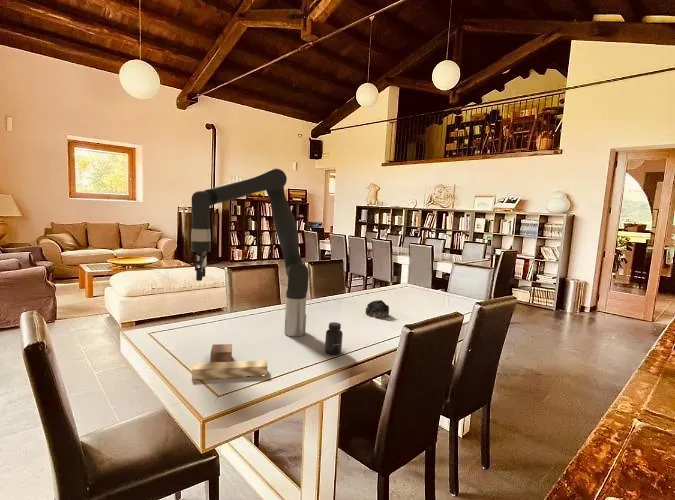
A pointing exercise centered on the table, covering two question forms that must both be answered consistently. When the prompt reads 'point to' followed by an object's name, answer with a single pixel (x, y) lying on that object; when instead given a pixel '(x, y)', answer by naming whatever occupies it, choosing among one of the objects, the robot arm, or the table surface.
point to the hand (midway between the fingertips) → (200, 278)
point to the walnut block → (221, 353)
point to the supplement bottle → (333, 339)
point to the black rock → (377, 309)
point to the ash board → (229, 369)
